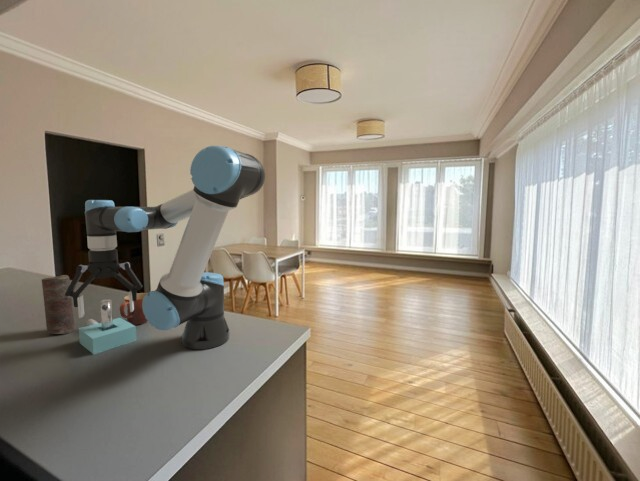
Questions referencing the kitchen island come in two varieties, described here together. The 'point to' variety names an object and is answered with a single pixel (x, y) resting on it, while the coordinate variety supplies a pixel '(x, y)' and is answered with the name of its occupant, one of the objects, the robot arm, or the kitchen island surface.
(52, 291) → the brown mottled cylinder
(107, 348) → the chuck block
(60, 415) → the kitchen island surface
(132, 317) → the mug
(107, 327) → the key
